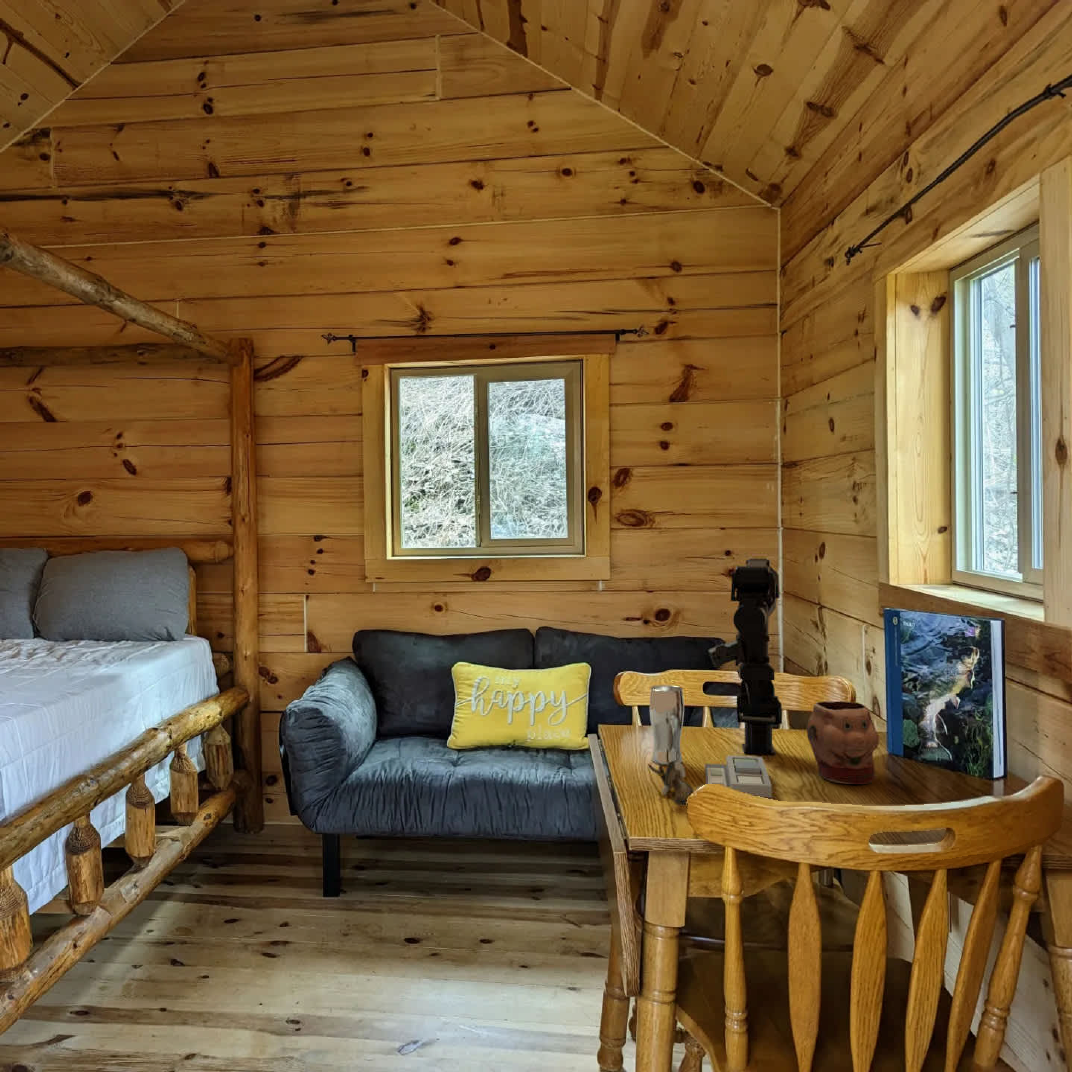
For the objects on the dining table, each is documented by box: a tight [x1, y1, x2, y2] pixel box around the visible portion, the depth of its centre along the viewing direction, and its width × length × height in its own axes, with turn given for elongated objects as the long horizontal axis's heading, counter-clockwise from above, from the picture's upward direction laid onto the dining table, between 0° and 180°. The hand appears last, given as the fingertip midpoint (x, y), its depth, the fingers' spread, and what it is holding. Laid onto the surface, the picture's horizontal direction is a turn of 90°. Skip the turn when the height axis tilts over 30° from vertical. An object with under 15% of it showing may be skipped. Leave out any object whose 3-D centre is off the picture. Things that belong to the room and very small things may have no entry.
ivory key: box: [738, 776, 763, 784], centre depth 136 cm, size 4×4×2 cm
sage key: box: [734, 759, 756, 764], centre depth 147 cm, size 4×4×2 cm
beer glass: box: [649, 684, 685, 766], centre depth 158 cm, size 7×7×15 cm
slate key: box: [736, 761, 760, 774], centre depth 142 cm, size 4×4×2 cm
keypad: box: [704, 755, 774, 800], centre depth 142 cm, size 19×11×3 cm, turn 169°
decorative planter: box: [806, 700, 880, 785], centre depth 148 cm, size 20×12×14 cm, turn 3°
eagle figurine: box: [648, 762, 694, 806], centre depth 137 cm, size 8×7×9 cm
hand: (753, 708), depth 152 cm, fingers closed
